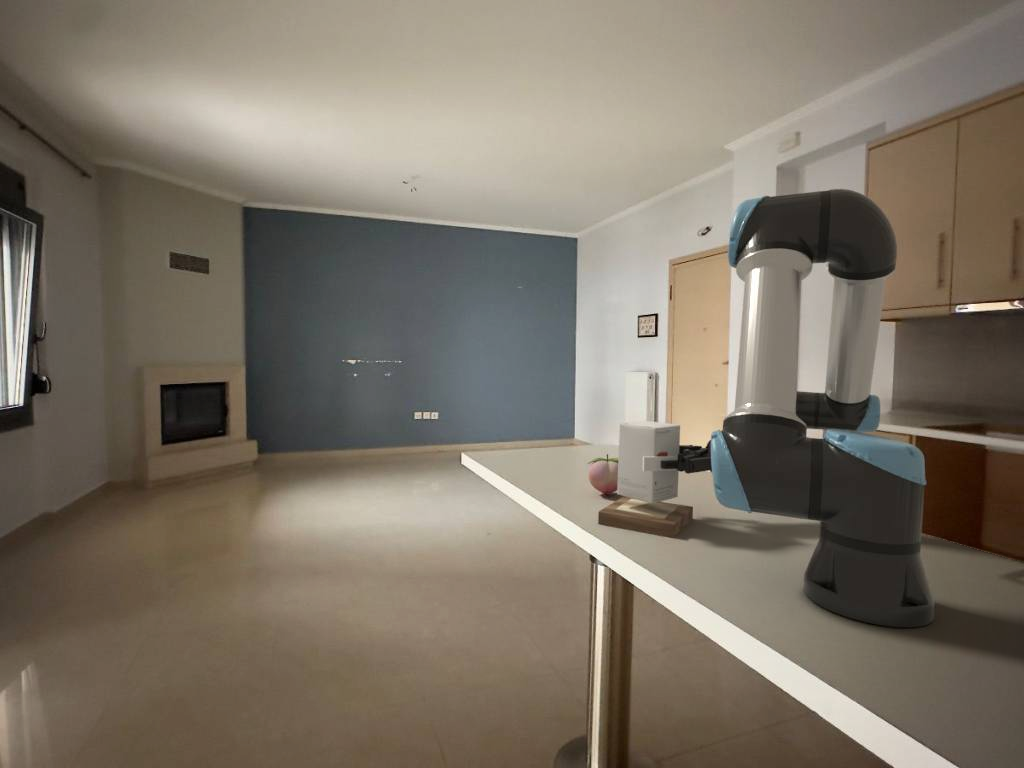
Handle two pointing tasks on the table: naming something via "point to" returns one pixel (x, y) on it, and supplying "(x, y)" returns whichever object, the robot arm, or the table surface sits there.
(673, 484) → the supplement box
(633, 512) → the block
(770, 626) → the table surface
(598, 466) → the decorative fruit
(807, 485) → the robot arm
